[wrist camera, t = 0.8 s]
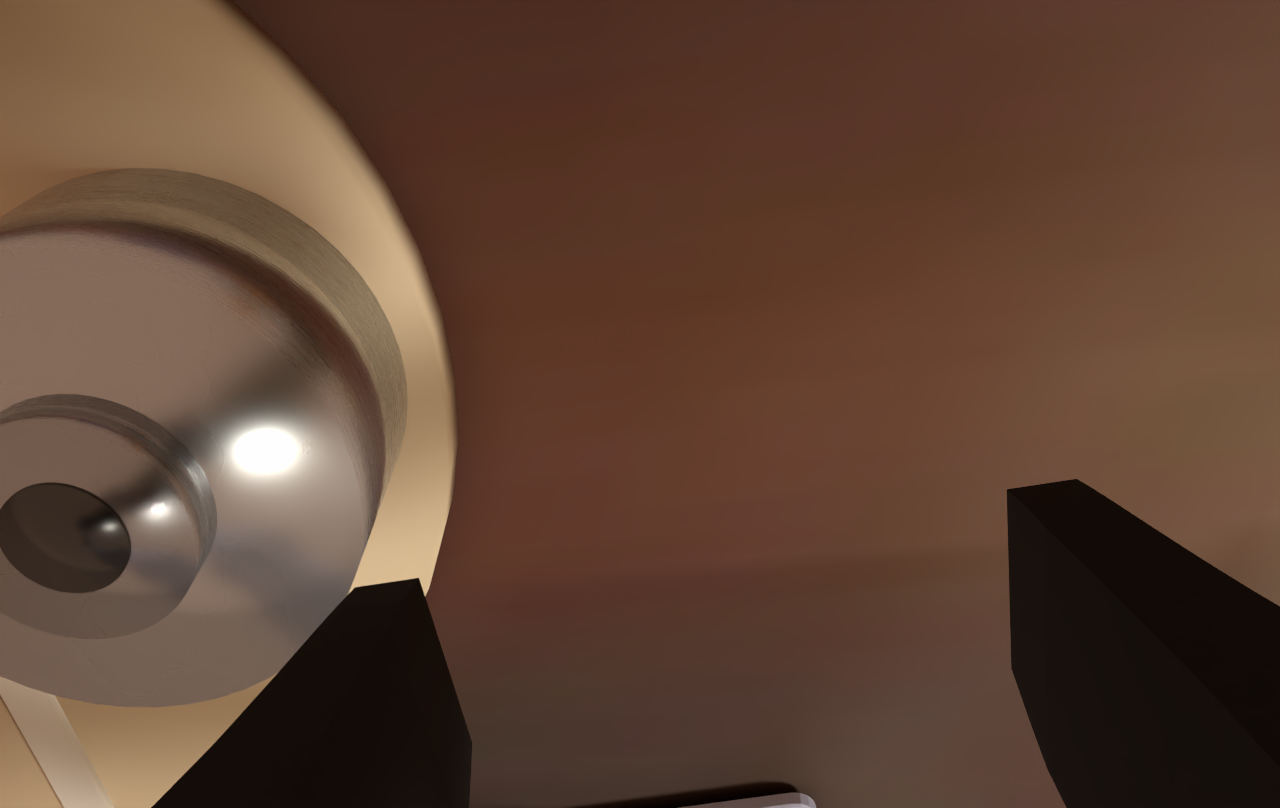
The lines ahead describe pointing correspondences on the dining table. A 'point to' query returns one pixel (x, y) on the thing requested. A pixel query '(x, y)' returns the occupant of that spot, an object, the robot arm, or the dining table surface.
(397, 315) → the disc
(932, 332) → the dining table surface
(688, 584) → the dining table surface
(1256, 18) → the dining table surface
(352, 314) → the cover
